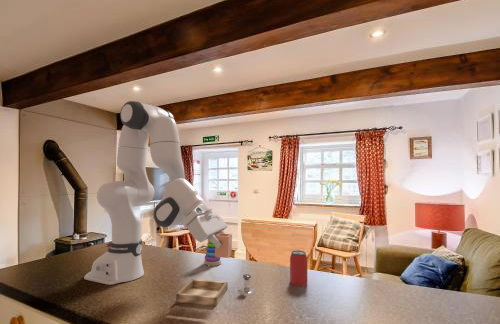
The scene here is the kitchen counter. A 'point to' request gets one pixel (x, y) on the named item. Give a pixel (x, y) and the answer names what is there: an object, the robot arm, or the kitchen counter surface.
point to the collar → (224, 245)
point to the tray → (202, 292)
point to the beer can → (298, 268)
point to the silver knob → (246, 286)
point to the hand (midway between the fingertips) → (223, 244)
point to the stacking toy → (211, 255)
